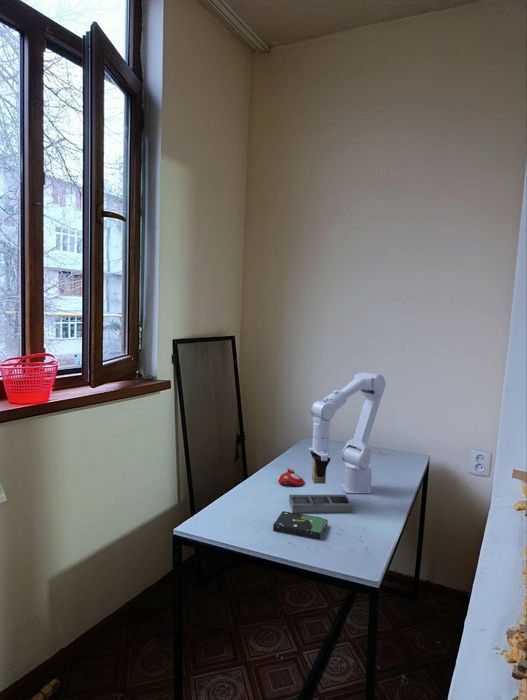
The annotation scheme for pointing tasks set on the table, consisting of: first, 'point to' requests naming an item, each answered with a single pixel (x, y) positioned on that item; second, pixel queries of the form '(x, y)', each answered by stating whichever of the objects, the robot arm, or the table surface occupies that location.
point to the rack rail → (320, 504)
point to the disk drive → (300, 525)
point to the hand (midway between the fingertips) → (319, 474)
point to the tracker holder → (291, 478)
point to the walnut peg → (315, 478)
